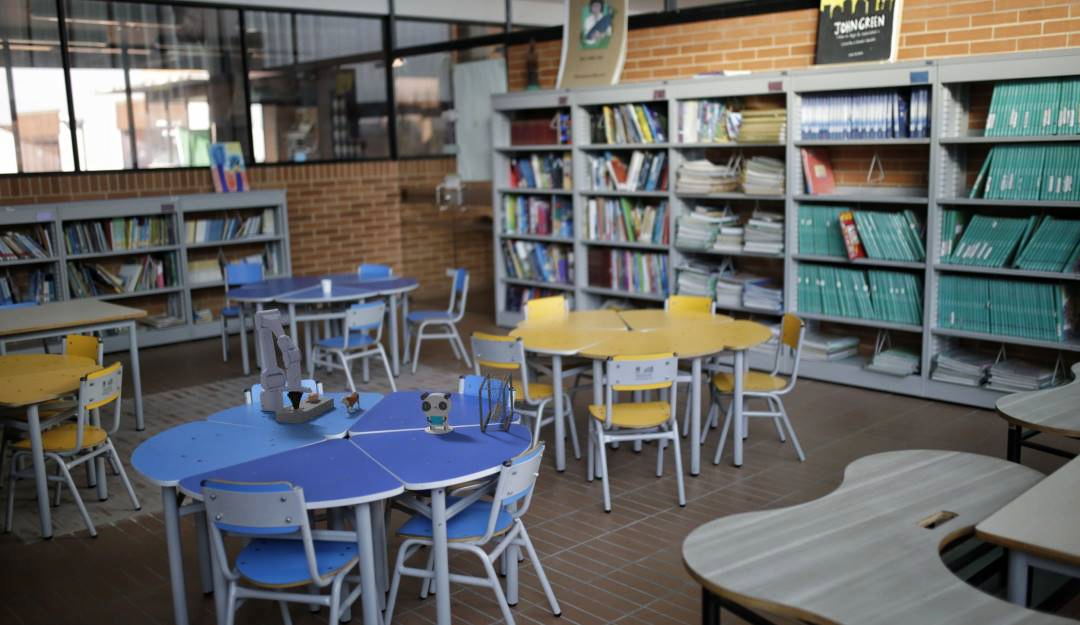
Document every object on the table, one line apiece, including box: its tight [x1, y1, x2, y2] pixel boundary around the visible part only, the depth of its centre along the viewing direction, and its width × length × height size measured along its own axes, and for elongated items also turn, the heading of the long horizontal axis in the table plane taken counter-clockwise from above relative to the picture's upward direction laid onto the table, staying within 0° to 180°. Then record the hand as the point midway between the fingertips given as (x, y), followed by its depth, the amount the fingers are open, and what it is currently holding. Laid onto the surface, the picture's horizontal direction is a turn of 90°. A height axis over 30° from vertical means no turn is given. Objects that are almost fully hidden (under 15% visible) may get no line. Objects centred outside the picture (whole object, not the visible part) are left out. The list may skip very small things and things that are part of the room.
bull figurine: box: [339, 391, 360, 414], centre depth 414 cm, size 4×13×8 cm, turn 163°
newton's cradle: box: [478, 371, 514, 432], centre depth 390 cm, size 30×10×18 cm, turn 176°
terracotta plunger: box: [307, 392, 320, 403], centre depth 417 cm, size 4×4×4 cm
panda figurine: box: [420, 391, 454, 435], centre depth 382 cm, size 12×11×15 cm
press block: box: [275, 396, 335, 425], centre depth 412 cm, size 12×26×4 cm, turn 160°
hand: (296, 408), depth 405 cm, fingers closed, pressing on birch plunger
